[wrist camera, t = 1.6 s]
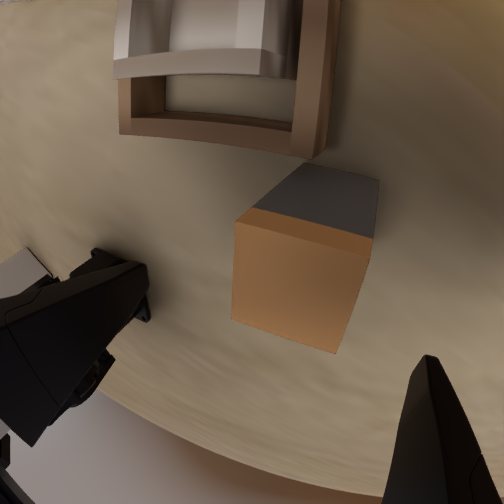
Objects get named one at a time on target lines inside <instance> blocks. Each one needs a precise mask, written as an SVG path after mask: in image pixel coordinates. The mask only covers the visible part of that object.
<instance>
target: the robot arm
mask: <svg viewBox="0 0 504 504" xmlns="http://www.w3.org/2000/svg"><path fill="white" fill-rule="evenodd" d="M91 256H92V258H91V259H89V260H88V261H86V262H85V263H83V264H82V265H81V266H79V267H78V268H76V269H75V270H74V271H72V272H71V273H70V274H69V276H70V278H69V279H67V280H65V281H62V282H61V281H60V280H59V278H58V277H56V278H55V279H53V277H51V276H50V275H49V274H46V275H45V276H43V277H42V278H41V279H39V280H38V281H36V282H35V283H34V284H32V285H31V286H29V287H28V288H27V289H25V290H24V291H22V292H21V293H19V294H18V295H14V296H10V297H5V298H1V299H0V504H35V503H34V502H33V501H32V500H31V499H30V498H29V496H27V494H26V493H25V492H24V491H23V490H22V489H21V488H20V487H19V486H18V484H17V483H16V482H15V481H14V480H13V478H12V477H11V476H10V475H9V474H8V472H7V471H6V470H5V469H6V468H7V467H8V466H9V465H10V436H9V435H8V433H7V432H8V431H9V430H10V429H11V430H12V431H13V432H14V433H16V434H17V435H18V436H19V437H20V438H21V439H22V440H23V441H24V442H26V443H27V444H28V445H29V446H30V447H33V446H34V445H35V443H36V442H37V440H38V439H39V438H40V436H41V435H42V433H43V431H44V430H45V429H46V427H47V426H50V425H52V424H53V423H54V422H55V421H56V420H57V419H58V417H60V416H61V415H62V414H63V413H64V412H65V411H66V410H67V409H69V408H70V407H76V406H78V405H80V404H82V403H83V402H84V401H86V400H87V399H88V398H89V397H90V396H91V395H92V394H93V392H94V391H95V390H96V388H97V387H98V385H99V384H100V382H101V381H102V379H103V378H104V376H105V375H106V373H107V372H108V370H109V369H110V367H111V366H112V364H113V363H114V362H115V360H116V359H115V358H114V357H113V356H112V355H110V353H109V352H108V351H107V349H106V347H107V346H108V345H109V343H110V342H111V341H112V340H113V338H114V337H115V336H116V335H117V334H118V333H119V332H120V331H121V330H122V329H123V328H124V327H125V326H126V325H127V324H128V323H129V322H130V321H131V320H132V319H133V318H134V317H135V318H137V319H139V320H141V321H143V322H145V323H147V322H148V321H149V320H150V315H149V310H148V305H147V300H146V295H145V293H146V292H147V290H148V288H149V277H148V271H147V266H146V264H144V263H142V262H139V261H136V260H134V261H131V262H127V261H125V260H122V259H120V258H117V257H115V256H113V255H110V254H108V253H105V252H103V251H101V250H98V249H96V248H94V249H93V250H91ZM381 504H503V503H502V501H501V499H500V496H499V494H498V492H497V489H496V487H495V485H494V482H493V480H492V478H491V475H490V472H489V470H488V467H487V465H486V462H485V459H484V457H483V455H482V454H481V449H480V447H479V444H478V442H477V439H476V437H475V435H474V432H473V430H472V428H471V425H470V423H469V421H468V418H467V416H466V414H465V412H464V410H463V407H462V405H461V403H460V401H459V399H458V397H457V395H456V393H455V391H454V389H453V386H452V384H451V382H450V380H449V378H448V376H447V374H446V373H445V371H444V369H443V367H442V365H441V363H440V361H439V359H438V358H437V357H435V356H431V355H424V356H423V357H422V358H421V360H420V361H419V363H418V364H417V366H416V367H415V369H414V370H413V372H412V374H411V376H410V380H409V384H408V389H407V393H406V397H405V402H404V406H403V410H402V413H401V417H400V421H399V426H398V431H397V437H396V442H395V448H394V453H393V458H392V463H391V467H390V472H389V476H388V480H387V484H386V488H385V492H384V496H383V500H382V503H381Z"/></svg>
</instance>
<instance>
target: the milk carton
mask: <svg viewBox="0 0 504 504" xmlns="http://www.w3.org/2000/svg"><path fill="white" fill-rule="evenodd" d="M46 274H49V275H50V276H51V277H52V275H51V274H50V273H49V272H48V271H47V270H46V269H45V268H44V267H43V266H42V265H41V263H40V262H39V261H38V260H37V259H36V258H35V257H34V256H33V255H32V253H31V252H30V251H29V250H28V249H27V248H24V249H23V250H21V251H20V252H18V253H17V254H15V255H14V256H12V257H11V258H9V259H8V260H6V261H5V262H3V263H2V264H0V299H1V298H5V297H10V296H14V295H18V294H19V293H21V292H22V291H24V290H25V289H27V288H28V287H29V286H31V285H32V284H34V283H35V282H36V281H38V280H39V279H41V278H42V277H43V276H45V275H46Z"/></svg>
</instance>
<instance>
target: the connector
mask: <svg viewBox="0 0 504 504" xmlns="http://www.w3.org/2000/svg"><path fill="white" fill-rule="evenodd" d="M378 189H379V180H376V179H372V178H368V177H364V176H361V175H357V174H353V173H349V172H344V171H340V170H336V169H332V168H327V167H323V166H318V165H314V164H309V163H303V164H302V165H300V166H299V167H298V168H297V169H296V170H294V171H293V172H292V173H291V174H290V175H289V176H287V177H286V178H285V179H284V180H283V181H281V182H280V183H279V184H278V185H277V186H276V187H274V188H273V189H272V190H271V191H270V192H269V193H267V194H266V195H265V196H264V197H263V198H262V199H260V200H259V201H258V202H257V203H256V204H255V205H254V206H252V207H251V208H250V209H249V210H248V211H247V212H245V213H244V214H243V215H242V216H241V217H240V218H239V219H237V220H236V221H235V239H234V262H233V287H232V314H231V319H233V320H235V321H238V322H241V323H243V324H246V325H249V326H252V327H255V328H257V329H260V330H263V331H266V332H269V333H272V334H275V335H278V336H281V337H284V338H287V339H290V340H293V341H296V342H299V343H302V344H305V345H308V346H311V347H314V348H317V349H321V350H324V351H327V352H330V353H334V354H336V352H337V350H338V347H339V345H340V342H341V340H342V337H343V335H344V332H345V329H346V327H347V324H348V321H349V319H350V316H351V313H352V311H353V308H354V305H355V302H356V299H357V297H358V294H359V291H360V288H361V285H362V282H363V279H364V276H365V273H366V270H367V267H368V264H369V260H370V256H371V249H372V242H373V235H374V227H375V218H376V209H377V200H378Z"/></svg>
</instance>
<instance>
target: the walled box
mask: <svg viewBox="0 0 504 504" xmlns="http://www.w3.org/2000/svg"><path fill="white" fill-rule="evenodd" d="M340 4H341V0H118V4H117V14H116V26H115V41H114V67H113V80H114V79H119V84H118V95H119V133H120V135H137V136H151V137H163V138H174V139H184V140H193V141H202V142H210V143H218V144H225V145H232V146H239V147H245V148H252V149H258V150H264V151H269V152H275V153H281V154H286V155H291V156H296V157H301V158H306V159H311V160H312V159H313V158H314V157H316V156H317V155H318V154H319V153H320V152H321V151H322V150H324V149H325V146H326V139H327V132H328V124H329V117H330V109H331V101H332V92H333V83H334V74H335V65H336V54H337V43H338V32H339V19H340ZM175 75H240V76H259V77H272V78H283V79H292V80H297V83H296V93H295V103H294V113H293V123H290V122H283V121H277V120H269V119H262V118H254V117H245V116H235V115H225V114H212V113H198V112H178V111H165V76H175Z"/></svg>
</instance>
